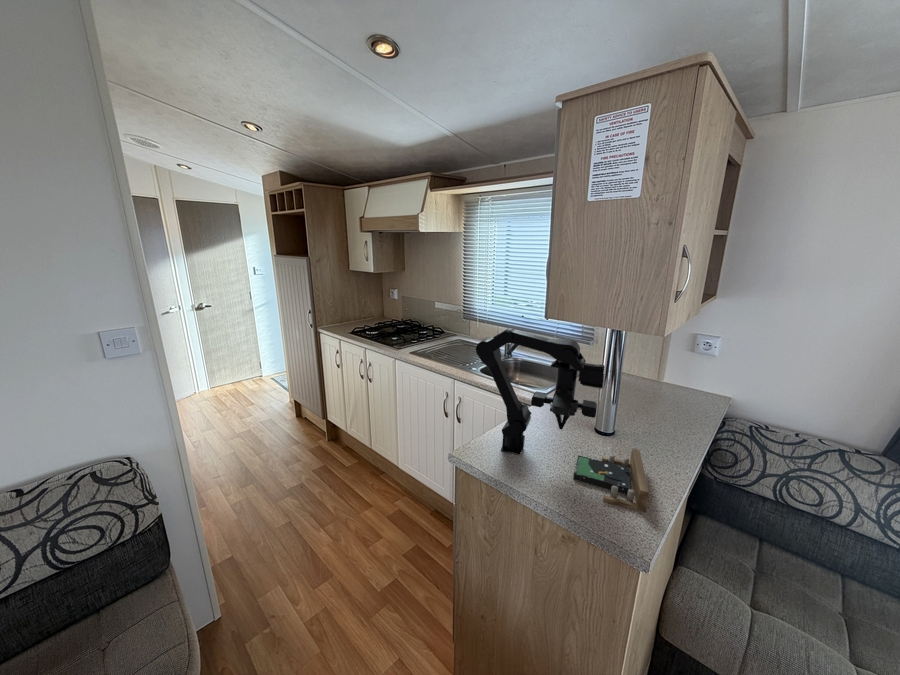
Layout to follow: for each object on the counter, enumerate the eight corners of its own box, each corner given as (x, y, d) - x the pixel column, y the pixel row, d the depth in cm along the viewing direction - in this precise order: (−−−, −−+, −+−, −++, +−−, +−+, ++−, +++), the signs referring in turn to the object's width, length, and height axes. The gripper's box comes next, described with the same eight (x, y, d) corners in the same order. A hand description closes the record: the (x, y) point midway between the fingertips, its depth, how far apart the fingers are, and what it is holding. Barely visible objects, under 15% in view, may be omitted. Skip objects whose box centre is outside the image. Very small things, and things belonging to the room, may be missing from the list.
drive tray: (603, 501, 94) (606, 482, 92) (601, 459, 112) (604, 443, 110) (645, 512, 90) (649, 492, 89) (636, 466, 109) (639, 449, 107)
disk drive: (628, 475, 105) (576, 462, 112) (630, 467, 105) (577, 454, 111) (628, 497, 96) (572, 481, 103) (630, 488, 96) (573, 472, 102)
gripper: (529, 386, 102) (525, 434, 106) (598, 398, 94) (591, 449, 98) (536, 374, 112) (532, 418, 116) (599, 384, 104) (593, 430, 108)
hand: (560, 428), depth 109 cm, fingers closed
